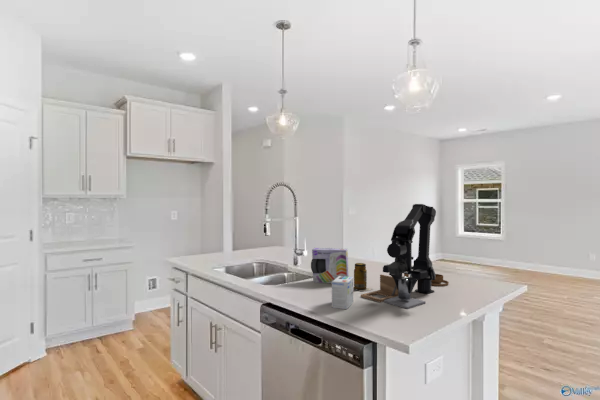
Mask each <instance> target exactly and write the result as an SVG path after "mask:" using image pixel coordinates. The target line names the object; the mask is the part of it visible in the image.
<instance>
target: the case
mask: <svg viewBox="0 0 600 400" xmlns="http://www.w3.org/2000/svg"><path fill="white" fill-rule="evenodd" d="M375 295H380V296H384V297H381V298H380V297H376V296H375ZM397 296H398V289H397V286H396V283H395V281H394V279H393V277H392V276H391V275H387V274H386V275H385V274H379V289H378V290H374V291H373V290H372V291H370V292H367V293H361V294H360V298H365V299H367V300H370V301H374V302H376V303H377V302H378V303H385V302H384V300H386V299H390V298H393V297H397Z"/></svg>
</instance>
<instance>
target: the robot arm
mask: <svg viewBox="0 0 600 400" xmlns="http://www.w3.org/2000/svg"><path fill="white" fill-rule="evenodd" d="M436 216H437V210H436V208H434V206H429V205H426V204H424V203H414V204H412V208H411V209H410V211H409V213H408V214H407V216H406V218H405V217H404V220H402V221H399V222H398V223H397V224H396V225H395V227H394V229H393V232H392V236H391V239H390V241H391V243H390V244H388V246H387V248H386V252H387V254H388V256H389V257H391V258H393V259H394V261H392V262H391V263H390V264H385V265H383V266H382V273H386V274H388V276H391V277H393V279H394V281H395V283H396V286H397V289H398V278H401V277H402V276H403V275H404V274H409V277H407V279H408V290H409V293H412V292H413V290H414V292H417V293H422V294H427V295H428V294H431V293H435V290H433V289H432V286H431V280H435V277H436V274H437V273H436V272H435V270H434V267H433V262H432V260H431V258H430V242H431V241H430V240H431V226H432V225H433V223H434V221H435V217H436ZM417 223H418V224H419V231H418V232H419V235H418V253H417V257H416V259H414V256H412V255H413V254H412V250H413V249H412V243H413V239H414V237H415V234H416V230H415V226H416V225H417ZM412 260H413V265H412ZM416 284H417V285H416ZM415 285H416V286H417V288H416V289H414V288H415Z"/></svg>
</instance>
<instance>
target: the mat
mask: <svg viewBox="0 0 600 400" xmlns="http://www.w3.org/2000/svg"><path fill="white" fill-rule="evenodd" d="M383 303H386V304H389V305H393V306H395V307H400V308H403V309H407V310H409V309H412V308H413V309H414V308H417V307H419V306H422V305H425V304H426V301H425V300H421V299H417V298H413V297H411V299H409V300H403V299H399V298H398V296H397V297H393V298H390V299H386V300H384V302H383Z"/></svg>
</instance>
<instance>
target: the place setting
mask: <svg viewBox="0 0 600 400" xmlns="http://www.w3.org/2000/svg"><path fill="white" fill-rule="evenodd" d="M435 274H436V277H435V280H431V287H446V286H448V285H450V284H449V283H450V282H449V281H447V280H445V279H444V275H443V274H441V273H439V274H438V273H435ZM403 276H406V277H410V275H409V274H404V273H403Z"/></svg>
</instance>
